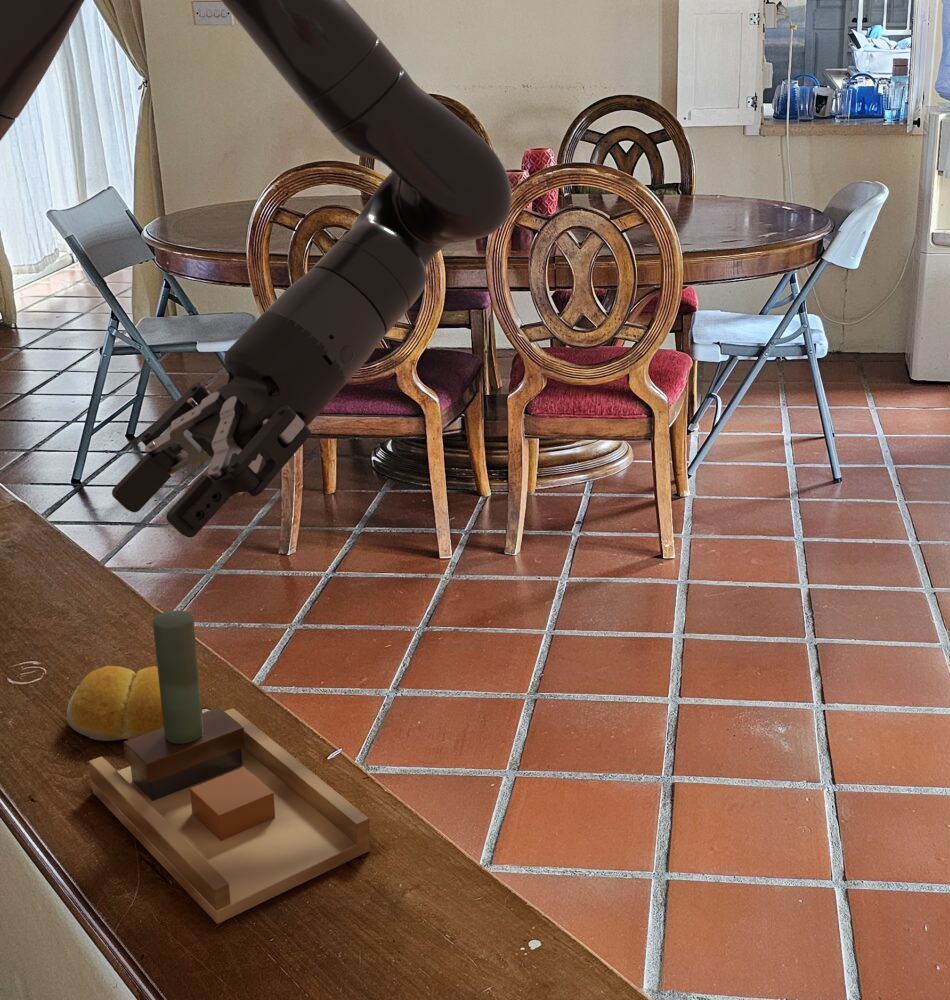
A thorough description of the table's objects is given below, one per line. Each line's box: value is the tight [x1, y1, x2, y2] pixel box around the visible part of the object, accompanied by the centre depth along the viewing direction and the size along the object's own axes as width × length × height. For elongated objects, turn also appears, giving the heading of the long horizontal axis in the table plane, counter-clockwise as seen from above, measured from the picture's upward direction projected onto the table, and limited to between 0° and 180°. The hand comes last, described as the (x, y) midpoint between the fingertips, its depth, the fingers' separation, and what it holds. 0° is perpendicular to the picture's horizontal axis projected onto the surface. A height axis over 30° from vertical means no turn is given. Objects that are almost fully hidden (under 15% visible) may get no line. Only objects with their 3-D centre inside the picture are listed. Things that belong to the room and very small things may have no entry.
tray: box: [88, 707, 371, 924], centre depth 88 cm, size 18×11×3 cm, turn 43°
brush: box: [123, 609, 245, 801], centre depth 89 cm, size 4×7×12 cm, turn 133°
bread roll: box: [66, 665, 164, 742], centre depth 99 cm, size 8×9×4 cm
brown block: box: [190, 767, 275, 841], centre depth 87 cm, size 4×4×2 cm
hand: (148, 516), depth 86 cm, fingers open, 8 cm apart
